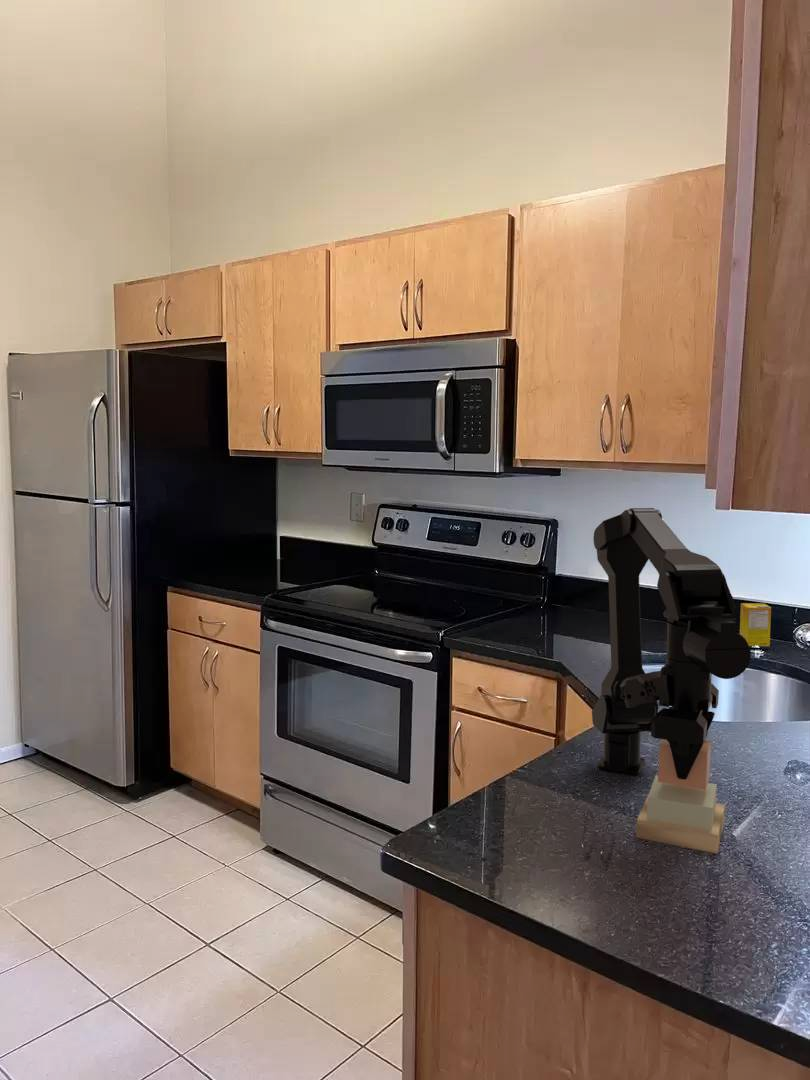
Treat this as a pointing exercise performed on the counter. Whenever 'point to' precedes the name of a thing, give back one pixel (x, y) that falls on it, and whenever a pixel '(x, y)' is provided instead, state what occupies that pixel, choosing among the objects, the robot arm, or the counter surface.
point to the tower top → (682, 804)
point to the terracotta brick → (697, 774)
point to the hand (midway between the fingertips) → (684, 772)
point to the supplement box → (756, 624)
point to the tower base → (682, 831)
